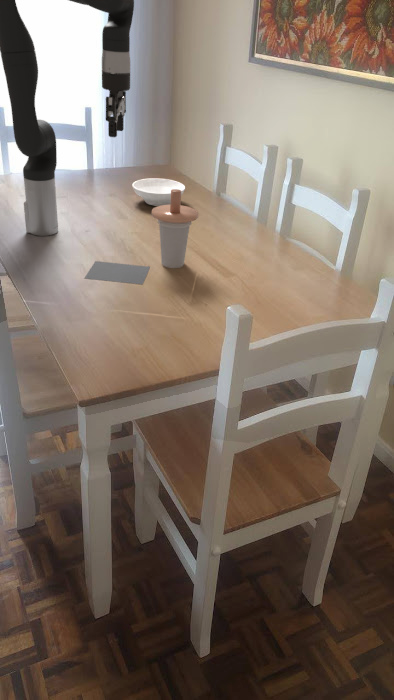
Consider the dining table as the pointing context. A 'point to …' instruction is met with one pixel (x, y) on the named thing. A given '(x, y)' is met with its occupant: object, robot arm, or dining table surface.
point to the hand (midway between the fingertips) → (116, 133)
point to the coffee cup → (173, 243)
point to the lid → (175, 210)
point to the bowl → (156, 190)
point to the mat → (118, 272)
